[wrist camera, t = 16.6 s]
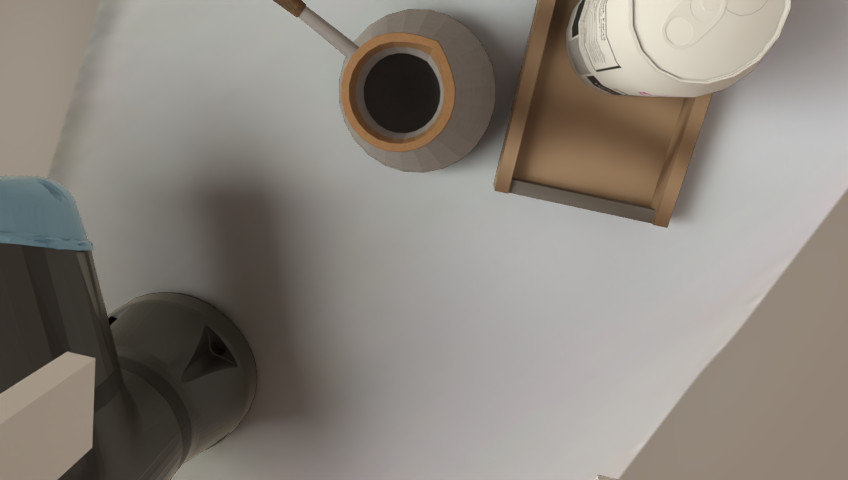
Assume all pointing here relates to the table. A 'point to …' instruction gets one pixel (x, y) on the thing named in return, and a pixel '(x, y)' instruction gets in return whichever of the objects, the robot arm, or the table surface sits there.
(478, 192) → the table surface
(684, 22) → the supplement can
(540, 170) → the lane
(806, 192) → the table surface
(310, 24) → the coffee pot
